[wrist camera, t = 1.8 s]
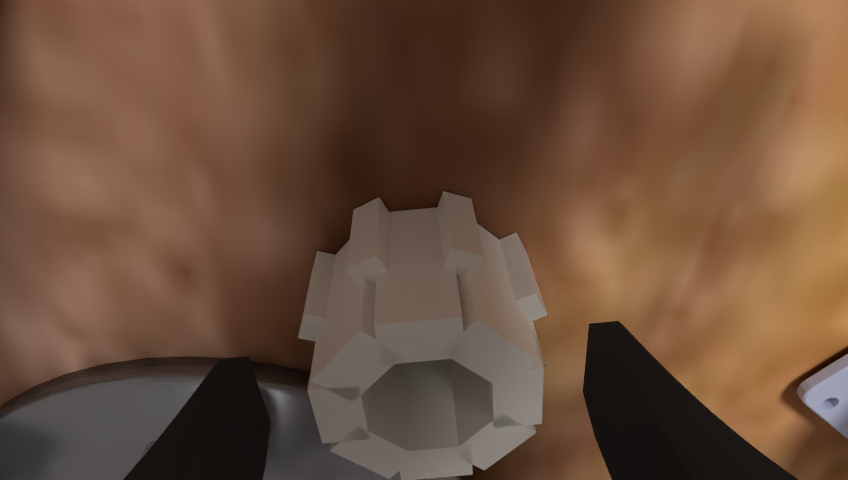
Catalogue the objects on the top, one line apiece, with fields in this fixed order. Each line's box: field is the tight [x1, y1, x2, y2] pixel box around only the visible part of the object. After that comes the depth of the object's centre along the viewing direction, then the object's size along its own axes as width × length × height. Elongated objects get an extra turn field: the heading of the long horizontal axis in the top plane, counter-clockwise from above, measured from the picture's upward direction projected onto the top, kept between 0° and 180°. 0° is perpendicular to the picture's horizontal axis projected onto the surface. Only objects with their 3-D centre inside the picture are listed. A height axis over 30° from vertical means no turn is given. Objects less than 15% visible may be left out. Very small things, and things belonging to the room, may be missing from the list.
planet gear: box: [298, 191, 547, 480], centre depth 13 cm, size 5×6×4 cm
